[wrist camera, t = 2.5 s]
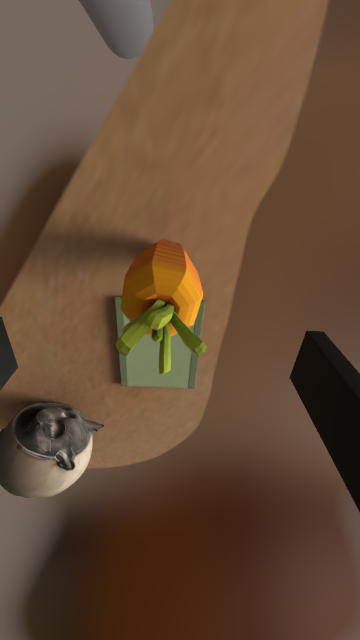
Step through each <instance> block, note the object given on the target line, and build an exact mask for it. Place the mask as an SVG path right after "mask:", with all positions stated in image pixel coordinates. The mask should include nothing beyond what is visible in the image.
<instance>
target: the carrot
mask: <svg viewBox="0 0 360 640" xmlns="http://www.w3.org/2000/svg"><path fill="white" fill-rule="evenodd" d="M202 297H203V291H202V287H201V283H200V279H199V276H198V273H197V270H196V269H195V267H194V265H193V264H192V262H191V260H190V259H189V257H188V255H187V254H186V252H185V251H184V249H183V248H182V246H181V245H180V244H178V243H174V242H170V241H166V240H160V241H158V242H157V243H155V244H154V245H152V246H151V247H149V248H147V249H146V250H144V251H143V252H141V253H140V254H139V255H138V256H136V258H135V259H134V261H133V263H132V264H131V266H130V268H129V270H128V272H127V273H126V275H125V280H124V287H123V294H122V302H121V311H122V312H123V313H124V314H125V316H126V317H127V318H128V319H129V320H130V322H129V323H128V324H126V325H125V326H124V327H123V329H122V330H123V332H124V333H123V334H122V336H121V337H120V338H119V339H118V341H117V342H116V344H115V346H116V348H117V350H118V351H119V353H121V354H123V355H124V356H127V355H128V354H129V353H130V352H131V351H132V349H133V348H134V347H135V346H136V345H137V344H138V343H139V342H140V340H141V339H142V338H143V336H144V335H145V334H150V335H152V337H151V338H152V340H153V341H155V342H160V350H159V374H166V373H167V372H169V371H170V370H171V339H170V337H171V336H173V335H175V334H177V333H178V335H179V336H180V338H181V339H182V341H183V342H184V343H185V344H186V345H187V346H188V348H189V349H190V350H192V351H193V352H194V353H196V354H197V355H198V356H200V355H202V354H203V353H204V352H205V350H206V349H207V347H206V345H205V344H204V343H203V342H202V341H201V340H200V339H199V338H198V337H197V336H196V335H195V334H194V333H193V332H192V331H191V330H190V329H189V328H188V327H190V326H192V325H194V322H195V319H196V316H197V313H198V310H199V307H200V303H201V300H202Z"/></svg>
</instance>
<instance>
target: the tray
mask: <svg viewBox="0 0 360 640" xmlns="http://www.w3.org/2000/svg"><path fill="white" fill-rule="evenodd" d="M121 302H122V297H115V306H116V320H117V333H118V339H119V338H120V337H121V336H122V334H123V333H124V332H123V330H122V329H123V327H124V326H125V325H126V324H128V323H129V322H130V320H129V319H128V318H127V317H126V316H125V314H124V313H123V312H122V311H121ZM204 307H205V301H201V303H200V307H199V310H198V313H197V316H196V319H195V322H194V325H192V326H190V327H188V328H189V329H190V330H191V331H192V332H193V333H194V334H195V335H196V336H197V337H198V338H199V339H200V340H201V332H202V323H203V315H204ZM151 337H152V335H150V334H145V335H144V336H143V338H142V339H141V340H140V342H139V343H138V344H137V345H136V346H135V347H134V348H133V349H132V351H131V352H130V353H129V354H128V355H127V356H124V355H123V354H121V353H119V359H120V373H121V385H122V386H146V387H174V388H195V381H196V373H197V364H198V355H197V354H196V353H194V352H193V351H192V350H190V349H189V348H188V346H187V345H186V344H185V343H184V342H183V341H182V339H181V338H180V336H179V335H178V333H177V334H175V335H173V336H171V337H170V339H171V370H170V371H169V372H167V373H166V374H159V350H160V342H155V341H153V340H152V338H151Z"/></svg>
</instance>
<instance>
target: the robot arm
mask: <svg viewBox="0 0 360 640" xmlns="http://www.w3.org/2000/svg"><path fill="white" fill-rule="evenodd" d="M17 368H18V365H17V362H16V359H15V356H14V353H13V350H12V347H11V344H10V341H9V338H8V335H7V332H6V329H5V326H4V323H3V320H2V317H0V390H1V389H2V387H3V386H4V385H5V384H6V382H7V381H8V380H9V378H10V377H11V376H12V374H13V373H14V372H15V371H16V369H17ZM290 379H291V381H292V383H293V385H294V387H295V389H296V391H297V392H298V395H299V397H300V398H301V400H302V402H303V404H304V406H305V408H306V410H307V412H308V414H309V416H310V418H311V420H312V421H313V423H314V425H315V427H316V429H317V431H318V433H319V435H320V437H321V439H322V440H323V443H324V444H325V446H326V448H327V450H328V452H329V454H330V456H331V458H332V460H333V462H334V464H335V465H336V468H337V469H338V471H339V473H340V475H341V477H342V479H343V481H344V483H345V485H346V487H347V489H348V490H349V492H350V494H351V496H352V498H353V500H354V502H355V504H356V506H357V508H358V510H359V512H360V373H359V372H358V371H357V370H356V369H355V368H354V367H353V365H352V364H351V363H350V362H349V361H348V360H347V358H346V357H345V356H344V355H343V354H342V353H341V351H340V350H339V349H338V348H337V347H336V346H335V344H334V343H333V342H332V341H331V340H330V339H329V338H328V336H327V335H326V334H325V333H324V332H320V331H306V334H305V337H304V339H303V342H302V345H301V348H300V351H299V353H298V356H297V359H296V362H295V364H294V367H293V370H292V373H291V375H290Z"/></svg>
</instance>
